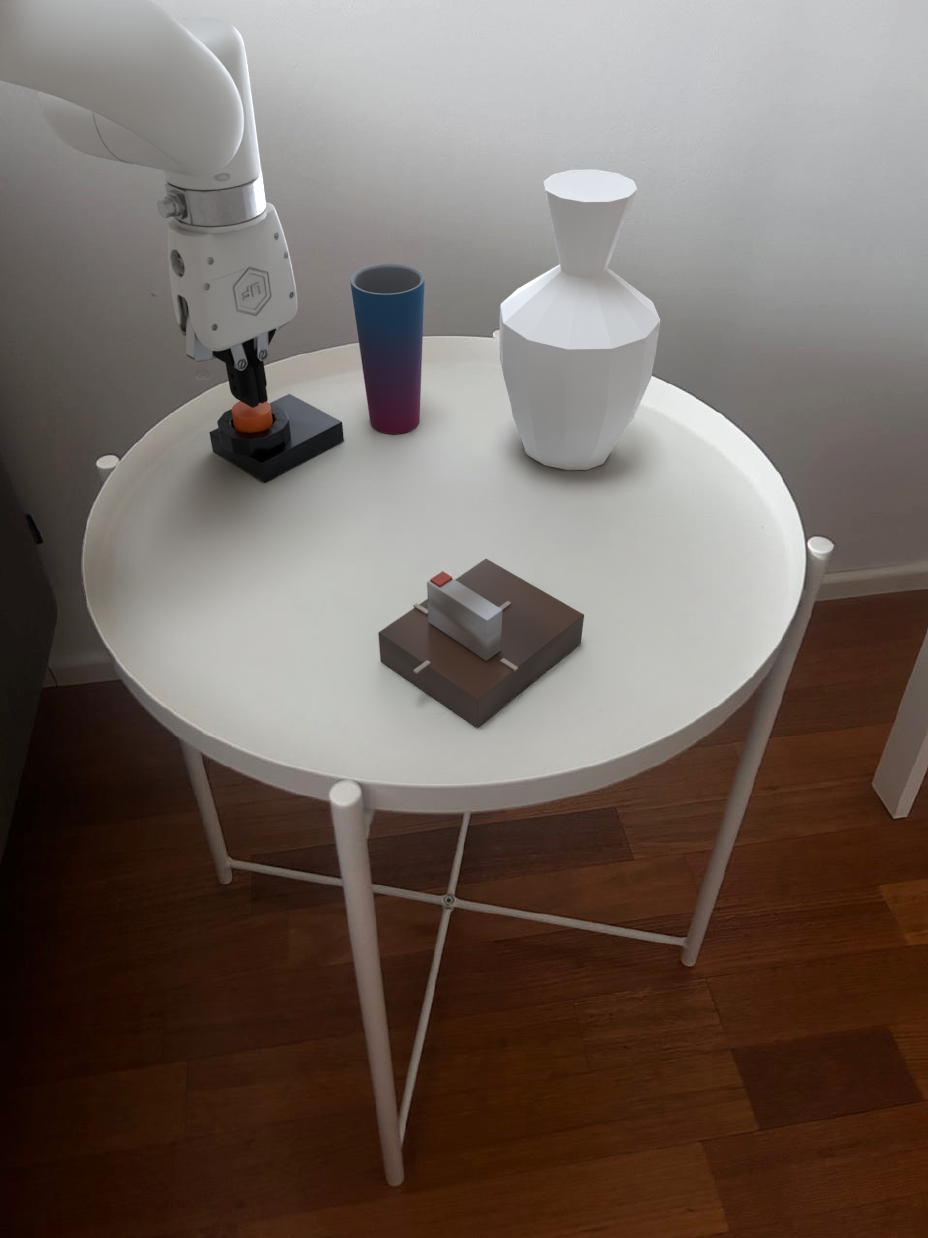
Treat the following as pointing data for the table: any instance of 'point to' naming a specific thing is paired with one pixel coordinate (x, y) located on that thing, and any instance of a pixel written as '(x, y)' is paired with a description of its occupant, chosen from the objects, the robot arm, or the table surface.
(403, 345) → the cup
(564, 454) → the vase
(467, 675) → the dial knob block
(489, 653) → the grey rectangular block
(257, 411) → the button
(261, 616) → the table surface
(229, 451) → the button box
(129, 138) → the robot arm
